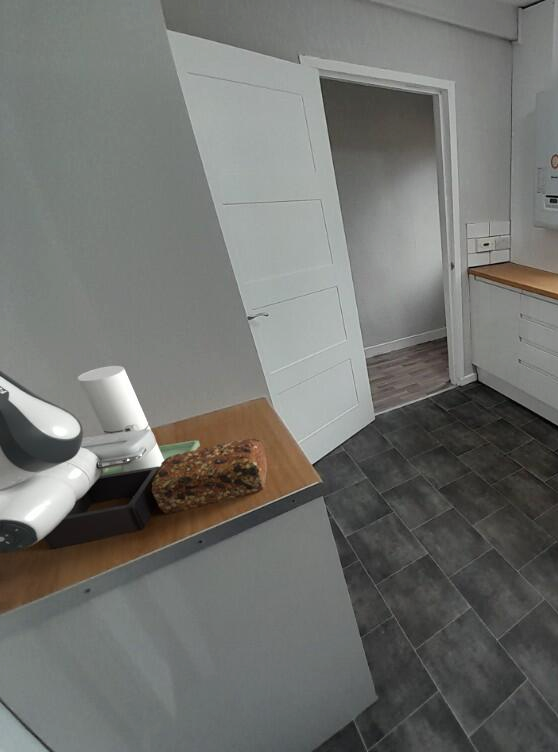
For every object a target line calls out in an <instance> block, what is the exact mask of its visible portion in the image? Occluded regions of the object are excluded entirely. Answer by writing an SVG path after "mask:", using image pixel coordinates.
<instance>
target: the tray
mask: <svg viewBox="0 0 558 752" xmlns="http://www.w3.org/2000/svg"><path fill="white" fill-rule="evenodd" d="M200 446H201V444H200V441H199V440H198V439H197V440H196V439H195V440H190V441H184V442H183V441H182V442H177V443H170V444H163V445H158V447H159V450H160V452H161V454H162V456H163V459H164V460H165V459H167V458H168V457H170V456H173V455H177V454H180V453H184V452H189V451H193V450H198V449H199V448H200ZM121 472H124V471H123V469H122V467H121V466H117V467H111V468H105V469H103V471H102V474H101V476H103V475H109V474H115V473H121Z"/></svg>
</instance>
